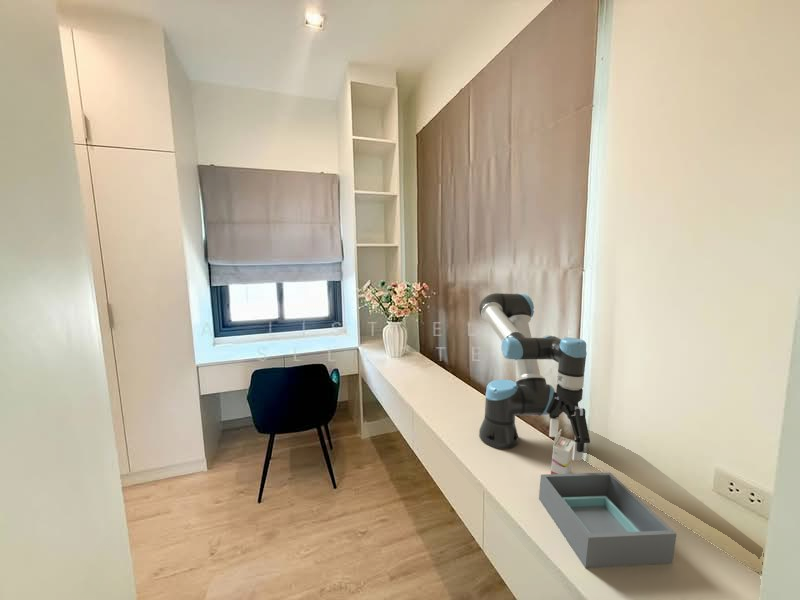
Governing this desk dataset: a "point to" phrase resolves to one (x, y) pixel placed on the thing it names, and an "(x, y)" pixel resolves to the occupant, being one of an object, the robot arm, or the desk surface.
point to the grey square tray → (605, 521)
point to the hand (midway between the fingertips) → (564, 447)
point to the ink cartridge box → (562, 455)
